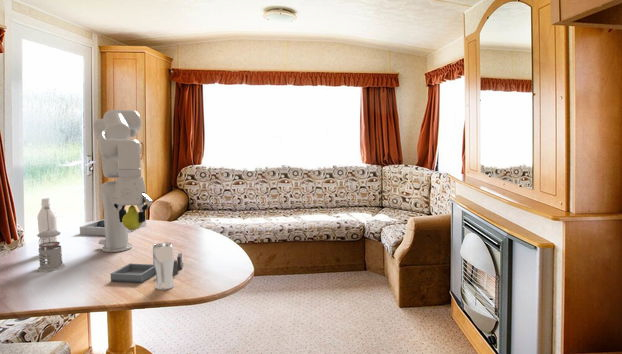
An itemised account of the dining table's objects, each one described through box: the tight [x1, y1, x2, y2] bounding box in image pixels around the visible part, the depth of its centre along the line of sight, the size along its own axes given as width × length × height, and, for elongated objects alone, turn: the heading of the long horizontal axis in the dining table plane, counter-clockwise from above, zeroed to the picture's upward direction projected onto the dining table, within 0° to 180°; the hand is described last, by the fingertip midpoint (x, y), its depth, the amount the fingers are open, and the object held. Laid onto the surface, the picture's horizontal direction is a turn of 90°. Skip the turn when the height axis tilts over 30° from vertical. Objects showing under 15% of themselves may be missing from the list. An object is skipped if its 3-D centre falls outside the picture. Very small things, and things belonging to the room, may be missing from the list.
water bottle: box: [36, 198, 58, 250], centre depth 185 cm, size 7×7×25 cm
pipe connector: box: [97, 219, 105, 227], centre depth 231 cm, size 12×5×15 cm
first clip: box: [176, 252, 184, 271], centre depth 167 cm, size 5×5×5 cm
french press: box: [36, 206, 66, 272], centre depth 167 cm, size 10×12×25 cm
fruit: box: [122, 205, 143, 231], centre depth 154 cm, size 7×7×12 cm
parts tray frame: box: [79, 218, 147, 236], centre depth 233 cm, size 24×24×4 cm
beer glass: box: [152, 242, 175, 291], centre depth 145 cm, size 7×7×15 cm
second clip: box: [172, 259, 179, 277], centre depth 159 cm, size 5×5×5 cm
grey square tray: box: [110, 263, 156, 284], centre depth 156 cm, size 12×12×3 cm
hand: (132, 221), depth 154 cm, fingers closed on fruit, 6 cm apart
